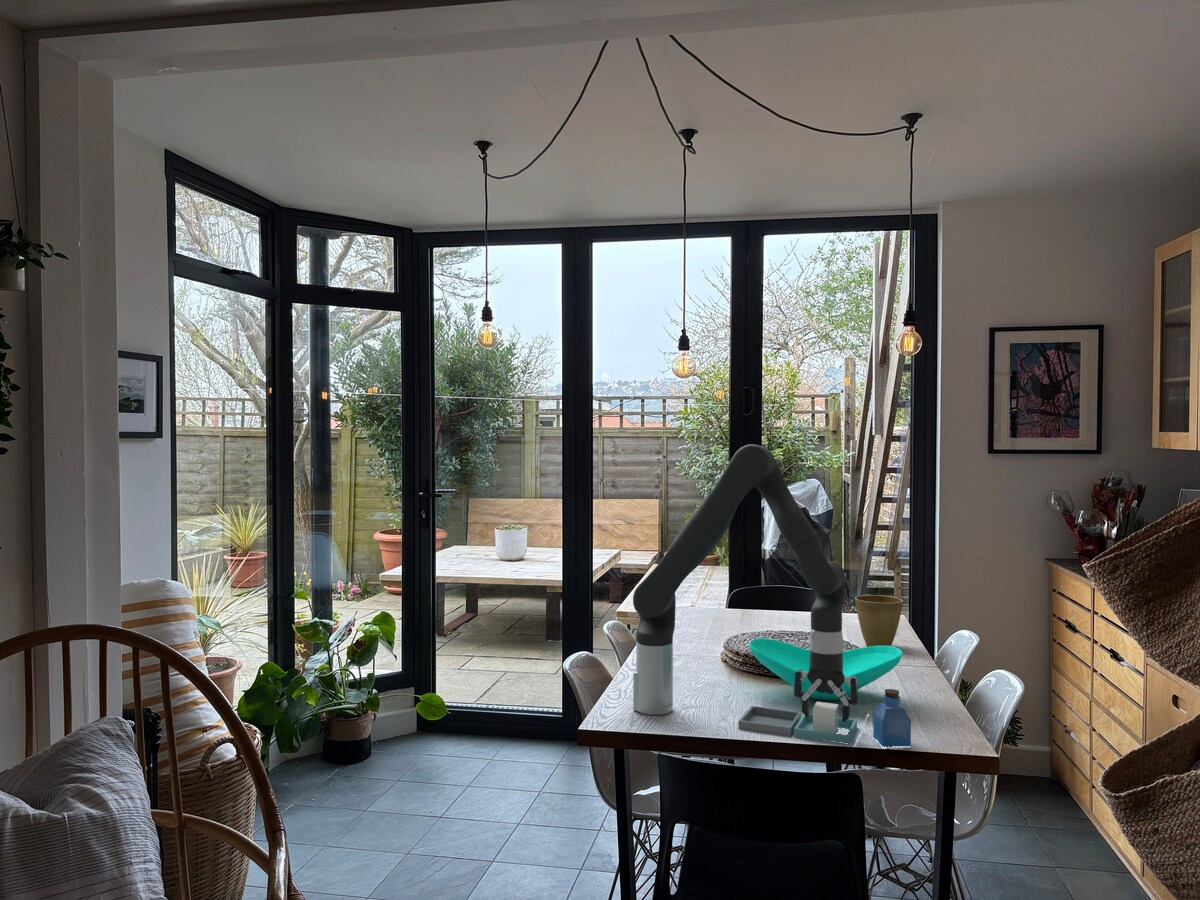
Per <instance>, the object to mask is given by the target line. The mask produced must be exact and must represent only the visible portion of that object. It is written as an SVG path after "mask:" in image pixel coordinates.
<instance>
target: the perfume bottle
mask: <svg viewBox="0 0 1200 900" xmlns="http://www.w3.org/2000/svg"><path fill="white" fill-rule="evenodd" d="M883 701H884V702H879V704H878V705H877V706H876V708H875V709H874V710H873V711H872V712H873V713H872V714H873V716H872V719H873V720H872V723H873V724H872V725H873V729H872V730H873V731H872V738H873V737H874V738H875V739H877V740H878V741H879V743H880V744H881V745H882V746H884V747H885V746H886V747H888V746H889V747H892V746H911V745H912V735H911V733H912V721H911V719H910V717H909V715H908V713H907V711H906V709H905V708H904V707H903V706H902V705H900V702H901V696H900V690H898V689H894V688H886V689H884V695H883Z"/></svg>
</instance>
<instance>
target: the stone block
mask: <svg viewBox="0 0 1200 900" xmlns="http://www.w3.org/2000/svg"><path fill="white" fill-rule="evenodd" d="M812 714H813V730H814V731H821V732H828V733H835V734H836V733H837V732H838V717H839V703H838V704H837V703H831V702H824V701H816V702H815V704H814V706H813V707H812Z"/></svg>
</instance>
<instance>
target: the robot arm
mask: <svg viewBox="0 0 1200 900" xmlns="http://www.w3.org/2000/svg"><path fill="white" fill-rule="evenodd" d="M778 465H779V464H778V462H777V461H776V458H775V456H774V454H773V452H772V451H771V450H770V449H769V448H767V447H765V446H762V445H759V444H753V443H752V444H751V443H750V444H746V445H744V446H741V447H740V448H738V449H737V451H736V452H735V453H734V455H733V456H732V458H731V460H729V462H728V464H727V466H726V468H725V470H724V472H723V473H722V474H721V477H720V478H719V479H718V481H717V483H716V484H715V485H714V487H712V489H711V491H710V492H708V494H707V495H706V497H705V498H704V499H702V502H701V503H700V504H699V505H698V507H697V508H696V509H695V510H694V512H693V513H692V514H691V515H690V516H689V517H688V519H687V521H685V523H684V525H683V526H682V527H681V528H680V531H679V532H678V533H677V535H676V536H675V538H674V540H673V541H672V542H671V544H670V545H669V547H668V549H667V550H666V551H665V554H664V556H663V557H662V558H661V560H660V561H659V562H658V564H657V565H656V566H655V567H654V568H653V569H652V571H651V572H650V573H649V574H648V575H647V576H646V577H645V578H644V579H643V580H642V581H641V582H640V584H638V586H636V588H635V590H634V592H633V595H632V603H633V607H634V610H635V612H636V613H637V614H638V615H639V622H638V627H637V629H636V634H635V635H636V636H635V637H636V639H635V642H636V646H635V648H636V650H635V651H636V654H635V655H636V656H635V657H636V660H635V661H636V665H635V666H636V668H635V669H636V670H635V671H634V672H633V675H632V676H633V677H632V678H633V683H632V684H633V685H632V686H633V688H632V689H633V692H632V694H633V696H632V697H633V699H632V700H633V701H632V702H633V707H632V710H633V711H636V712H639V713H640V714H644V715H648V716H662V715H667V714H670V713H672V712H673V711H672V710H674V708H673V707H674V699H673V698H674V697H673V696H674V686H673V685H674V677H673V676H674V668H673V667H674V665H673V664H674V645H673V644H674V632H675V629H676V628H675V627H676V603H677V602H676V592H677V591H678V588H679V587H680V586H681V584H682V583H683V581H684V580H685V579H686V578H687V577H688V576H689V575H690V574H691V573H692V572H693V571H694V570H695V569H696V568H697V567H699V565H701V564H702V563H703V562H704V560H706V559H707V557H708V556H710V554H711V552H713V550H714V549H715V547H716V546H717V545H718V544H719V542H720V541H721V540H722V538H723V537H724V535H725V534H726V533H727V531H728V529H729V527H730V525H731V522H732V520H733V517H734V515H735V512H736V510H737V509H738V507H739V505H740V503H741V502H742V501H743V499H744V498H745V496H747V494H749V492H750V491H751V490H752V489H753V488H754V487H755V488H756V489H757V491H758V492H759V493H760V494H761V496H762V497H763V498H764V501H765V502H766V503H767V505H768V507H769V509H770V511H771V513H772V516H773V518H774V519H773V520H774V521H775V523H776V525H777V528H778V530H779V532H780V534H781V536H782V537H783V539H784V541H785V543H786V544H787V545H788V547H789V549H790V551H791V552H792V553H793V555H794V556H795V558H796V561H797V564H798V567H799V568H800V571H801V573H802V576H803V578H804V580H805V582H806V584H807V585H808V586H809V588H810V589H811V590H812V592H814V593H815V600H814V601H815V602H814V603H813V605H812V606H811V608H810V609H811V610H810V633H809V650H810V658H809V672H804V671H802V670H801V669H799V670H798V671H797V672H796V673H795V687H793V689H794V691H793V695H794V697H795V698H800V700H801V713H802V714H805V716H806V717H808V716H809V713H810V714H811V712H810V710H811V709H810V708H811V707H810V697H809V696H810V695H811V694H812V693H813V692H814V691H815V690H816V691H818V692H819V693H824V692H826V693H828V694H832V693H835V694H836V695H837V697H838V698H839V699H838V700H840V701H841V703H842V706H841V708H842V709H841V710H842V711H841V712H842V714H841V718H842V722H846V720H848V719H850V716H851V714H850V713H851V712H850V711H851V705H857V704H858V702H859V689H858V682H857V677H856V676H852V677H846V676H844V674H843V652H844V636H843V613H842V612H843V605H844V600H845V594H846V593H845V592H846V586H847V585H846V584H847V581H846V580H847V578H846V573H845V570H844V568H843V567H842V566H841V565H840V564H839V563H838V562H836V561H831V560H830V561H829V560H828V559H827V558H826V556H825V554H824V552H823V550H822V548H823V542H822V540H821V538H820V536H818V533H817V532H816V531H815V529H814V528H813V526H812V524H811V522H809V520H808V518H807V516H806V515H805V513H804V512H803V510H802V508H801V507H800V506H799V504H798V502H797V500H795V497H794V496H793V495H792V492H791V491H790V489H789V487H788V486H787V483H786V481H785V479H784V476H783V475H782V472H781V470H780V468H779V466H778ZM805 677H807V678H808V679H809V681H810V682H811V684H812V685H811V686H810V687H809V689H808V690H807V691H806V692H802V691H801V688H802V681H803V680H804V679H805ZM844 681H845V682H847V684H848V686H849V687H851V694H850V697H849V696H848V695H846V693H845V691H844V689H843V688H842V686H841V685H842V684H843V683H844ZM671 711H672V712H671Z"/></svg>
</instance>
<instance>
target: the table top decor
mask: <svg viewBox="0 0 1200 900" xmlns="http://www.w3.org/2000/svg"><path fill="white" fill-rule="evenodd" d="M748 645H749V649H750V651H751V654H752V655H753V656H754V658H756V659H757V660H758V662H759V663H761V664H762V665H763V666H764V667H765V668H767V669H768V670H769V671H771V672H772V673H773V674H775V675H777V677H779V678H780V679H781V680H783V681H784V682H786V683H787V684H789V685H790V686H791V687H793V688H794V687H795V673H796V672H797V671H798V670H799V669H801V670H802V671H804V672H809V658H810V649H805V648H802V647H800V646H796V645H794V644H791V643H788V642H784V641H780V640H777V639H773V638H770V639H769V638H765V637H764V638H762V637H760V638H754V639H751V641H749V642H748ZM903 655H904V652H903V651H902V650H901V649H900V648H898V647H894V646H893V645H891V646H871V647H867V646H865V647H859V648H854V649H850V650H845V651H844V650H843V674H844V676H846V677H852V676H856V677H857V682H858V690H860V689H862V688H864V687H865V686H868V685H869V684H871V683H873V682H875V681H877V680H879V679H880V678H882V677H883V676H885V675H887V674H888V673H889V672H891V671H893V669H894V668H896V666H897V665H898V664H899V663H900V662H901V659H902V657H903ZM811 685H812V684H811V682H810V681H809V679H808V678H807V677H805V679H804V680H803V681H802V688H801V691H802V692H806V691H807V690H808V689H809V687H810V686H811ZM841 686H842V688H843V689H844V691H845V693H846V695H847V696H848V695H851V687H849V686H848V684H847V682H845V681H844V683H843V684H842V685H841ZM809 698H811V699H814V700H815V699H816V700H820V701H821V700H822V701H837V700H840V699H839V698H838V697H837V695H836V694H835V693H832V694H828V693H826V692H824V693H819V692H818V691H816V690H815V691H814V692H813V693H812V694H811V695H810V696H809Z"/></svg>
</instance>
